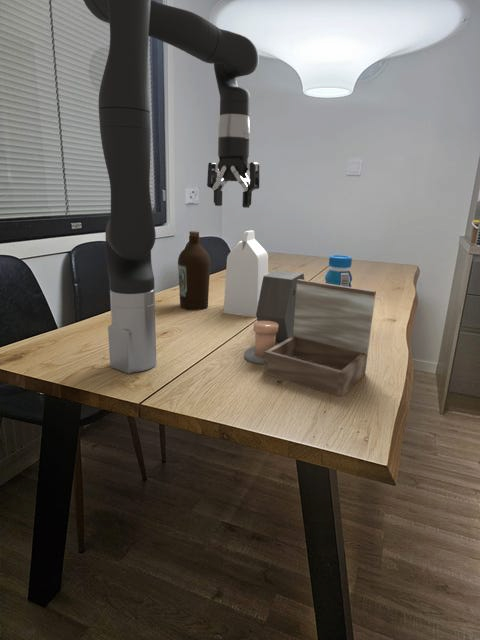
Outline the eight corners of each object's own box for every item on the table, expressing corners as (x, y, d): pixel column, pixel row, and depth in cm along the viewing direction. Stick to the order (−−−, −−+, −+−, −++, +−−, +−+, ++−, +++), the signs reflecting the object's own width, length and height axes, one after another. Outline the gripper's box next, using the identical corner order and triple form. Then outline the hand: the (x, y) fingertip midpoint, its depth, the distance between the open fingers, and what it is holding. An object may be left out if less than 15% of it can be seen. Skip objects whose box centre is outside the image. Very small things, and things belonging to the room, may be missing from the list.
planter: (283, 307, 127) (273, 254, 112) (308, 311, 124) (301, 257, 109) (264, 351, 118) (251, 299, 103) (291, 356, 115) (281, 304, 100)
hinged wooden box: (341, 396, 83) (352, 304, 77) (263, 373, 92) (267, 289, 87) (365, 373, 94) (376, 291, 89) (293, 354, 104) (299, 279, 98)
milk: (257, 317, 133) (261, 233, 126) (223, 312, 137) (225, 231, 129) (267, 308, 144) (272, 231, 137) (236, 304, 148) (239, 228, 140)
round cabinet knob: (268, 360, 97) (270, 329, 95) (247, 354, 100) (248, 324, 98) (280, 353, 102) (282, 323, 99) (260, 348, 105) (261, 319, 103)
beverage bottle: (318, 321, 132) (324, 257, 126) (323, 314, 139) (328, 253, 134) (346, 324, 129) (353, 259, 123) (349, 317, 137) (356, 255, 131)
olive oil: (203, 301, 149) (204, 230, 142) (214, 309, 140) (215, 233, 133) (174, 304, 145) (173, 230, 138) (183, 312, 136) (183, 233, 129)
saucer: (269, 367, 95) (269, 364, 95) (236, 357, 100) (236, 354, 100) (288, 355, 102) (288, 352, 102) (256, 347, 107) (257, 344, 107)
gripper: (201, 136, 102) (200, 205, 107) (250, 133, 95) (247, 208, 99) (219, 139, 108) (218, 205, 113) (267, 137, 101) (263, 208, 105)
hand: (232, 206), depth 106 cm, fingers open, 8 cm apart
